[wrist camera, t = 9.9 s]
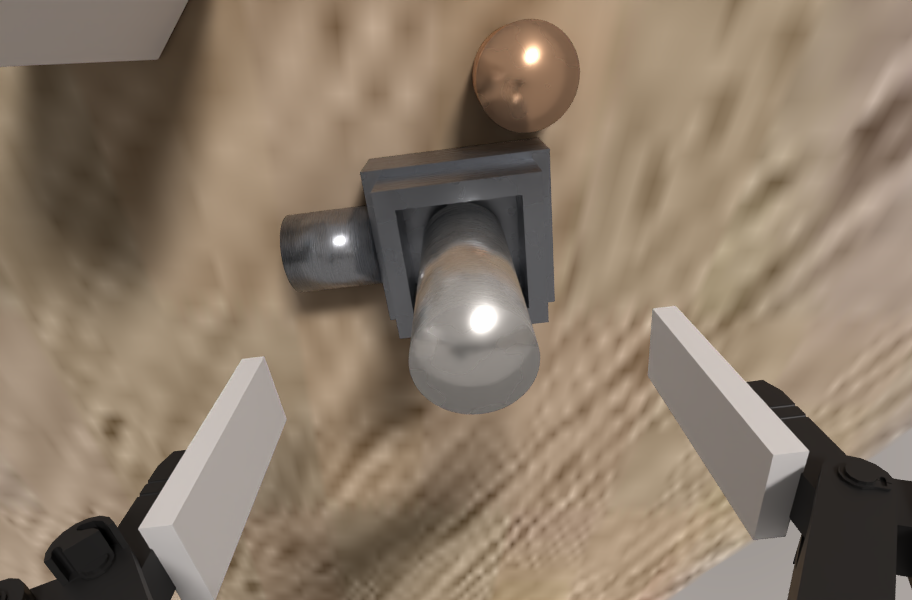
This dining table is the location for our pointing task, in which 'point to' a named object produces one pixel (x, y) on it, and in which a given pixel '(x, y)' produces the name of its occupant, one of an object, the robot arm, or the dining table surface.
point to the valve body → (407, 214)
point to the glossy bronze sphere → (526, 75)
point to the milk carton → (85, 30)
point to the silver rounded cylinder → (470, 316)
